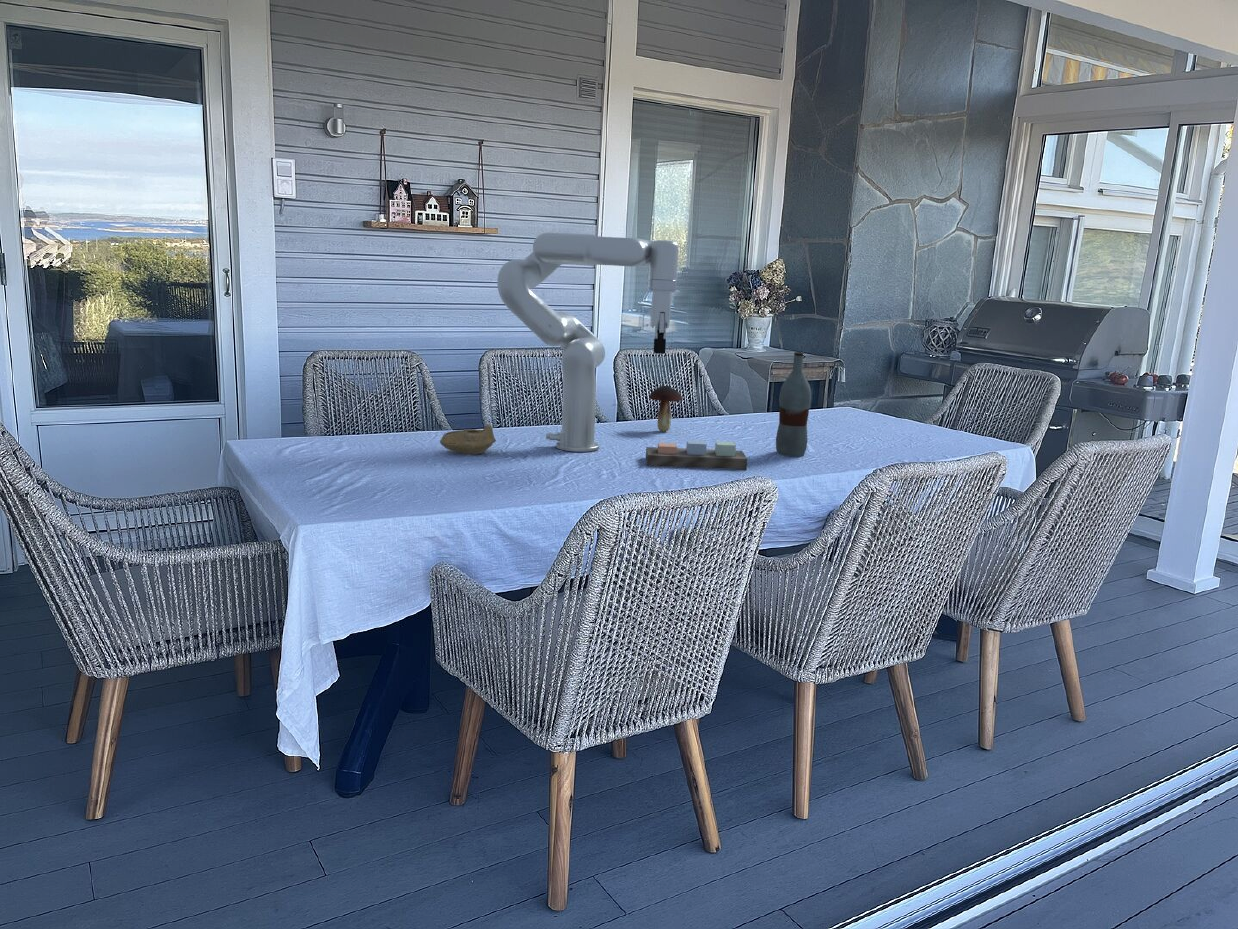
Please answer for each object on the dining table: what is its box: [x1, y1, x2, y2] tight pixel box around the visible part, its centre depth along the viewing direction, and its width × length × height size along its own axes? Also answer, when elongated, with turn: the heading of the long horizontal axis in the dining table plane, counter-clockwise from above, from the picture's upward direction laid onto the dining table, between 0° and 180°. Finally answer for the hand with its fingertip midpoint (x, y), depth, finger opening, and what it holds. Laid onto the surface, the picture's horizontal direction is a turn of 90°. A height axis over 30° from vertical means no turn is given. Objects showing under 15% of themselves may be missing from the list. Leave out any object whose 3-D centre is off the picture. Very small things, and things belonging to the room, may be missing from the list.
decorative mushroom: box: [648, 385, 684, 433], centre depth 311 cm, size 11×11×15 cm
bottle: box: [775, 351, 812, 457], centre depth 283 cm, size 9×9×30 cm
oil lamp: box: [439, 424, 497, 456], centre depth 267 cm, size 11×15×8 cm
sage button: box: [714, 440, 737, 456], centre depth 266 cm, size 5×5×4 cm
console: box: [645, 446, 748, 471], centre depth 267 cm, size 27×11×3 cm, turn 91°
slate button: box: [685, 439, 707, 455], centre depth 266 cm, size 5×5×4 cm
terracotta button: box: [657, 442, 678, 454], centre depth 266 cm, size 5×5×4 cm
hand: (659, 353), depth 269 cm, fingers closed
